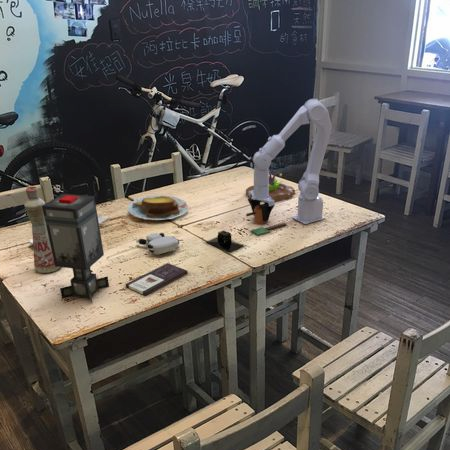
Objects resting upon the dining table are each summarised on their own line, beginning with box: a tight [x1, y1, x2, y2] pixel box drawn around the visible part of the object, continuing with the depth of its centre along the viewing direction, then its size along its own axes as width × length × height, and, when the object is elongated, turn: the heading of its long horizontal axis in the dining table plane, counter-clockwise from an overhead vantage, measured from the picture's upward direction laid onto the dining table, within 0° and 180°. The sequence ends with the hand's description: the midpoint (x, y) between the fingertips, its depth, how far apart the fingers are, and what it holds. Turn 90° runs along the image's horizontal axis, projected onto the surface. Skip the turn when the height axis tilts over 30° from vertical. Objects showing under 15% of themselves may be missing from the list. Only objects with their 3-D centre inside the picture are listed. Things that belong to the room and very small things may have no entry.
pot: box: [245, 205, 268, 225], centre depth 197 cm, size 10×5×7 cm, turn 121°
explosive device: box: [42, 193, 110, 304], centre depth 147 cm, size 10×10×30 cm
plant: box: [245, 170, 296, 203], centre depth 224 cm, size 20×20×11 cm
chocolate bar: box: [125, 262, 188, 296], centre depth 160 cm, size 9×1×18 cm
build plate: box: [205, 230, 245, 253], centre depth 181 cm, size 12×7×5 cm, turn 45°
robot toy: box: [135, 232, 184, 255], centre depth 180 cm, size 12×4×15 cm
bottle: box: [23, 185, 62, 274], centre depth 162 cm, size 9×9×28 cm
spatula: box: [249, 222, 287, 237], centre depth 193 cm, size 14×5×1 cm, turn 121°
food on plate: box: [127, 194, 189, 221], centre depth 210 cm, size 25×25×7 cm
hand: (260, 218), depth 199 cm, fingers open, 6 cm apart
